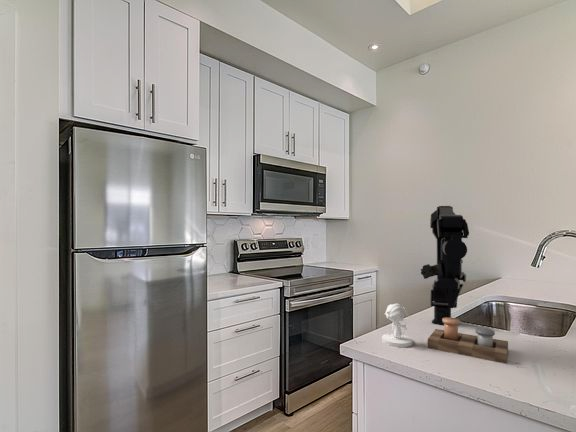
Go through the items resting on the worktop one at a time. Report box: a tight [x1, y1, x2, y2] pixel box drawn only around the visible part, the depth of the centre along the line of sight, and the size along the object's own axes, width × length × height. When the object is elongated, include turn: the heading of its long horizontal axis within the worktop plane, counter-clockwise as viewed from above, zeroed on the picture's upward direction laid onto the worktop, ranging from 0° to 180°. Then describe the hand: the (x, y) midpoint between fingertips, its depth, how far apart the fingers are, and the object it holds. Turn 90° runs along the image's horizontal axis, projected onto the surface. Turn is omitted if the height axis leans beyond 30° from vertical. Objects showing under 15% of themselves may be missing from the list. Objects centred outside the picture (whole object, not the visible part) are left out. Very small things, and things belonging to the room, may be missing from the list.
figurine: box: [381, 303, 414, 348], centre depth 108 cm, size 9×9×12 cm
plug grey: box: [475, 327, 496, 348], centre depth 99 cm, size 5×5×6 cm
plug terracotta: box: [442, 317, 461, 341], centre depth 104 cm, size 5×5×6 cm
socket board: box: [427, 328, 509, 365], centre depth 102 cm, size 12×20×2 cm, turn 56°
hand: (451, 307), depth 104 cm, fingers closed
